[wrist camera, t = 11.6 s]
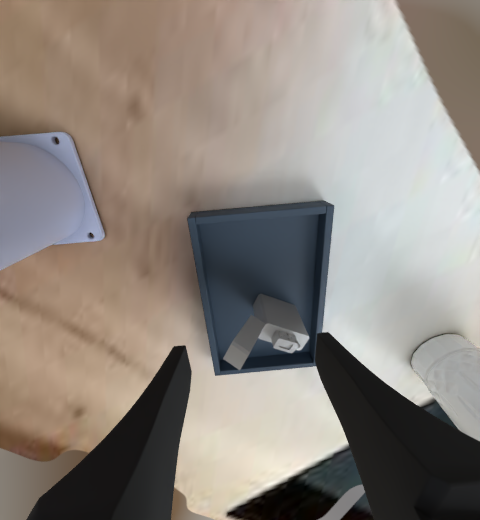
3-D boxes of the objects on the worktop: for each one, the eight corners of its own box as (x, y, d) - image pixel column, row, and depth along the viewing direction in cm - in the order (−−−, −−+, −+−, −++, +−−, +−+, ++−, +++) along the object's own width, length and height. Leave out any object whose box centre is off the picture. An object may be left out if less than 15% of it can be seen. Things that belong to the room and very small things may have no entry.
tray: (215, 360, 26) (215, 376, 24) (191, 212, 19) (187, 218, 17) (312, 351, 26) (319, 366, 24) (324, 200, 19) (334, 205, 17)
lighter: (296, 305, 23) (328, 376, 16) (288, 318, 23) (315, 392, 16) (230, 283, 21) (231, 349, 14) (224, 297, 22) (221, 367, 15)
